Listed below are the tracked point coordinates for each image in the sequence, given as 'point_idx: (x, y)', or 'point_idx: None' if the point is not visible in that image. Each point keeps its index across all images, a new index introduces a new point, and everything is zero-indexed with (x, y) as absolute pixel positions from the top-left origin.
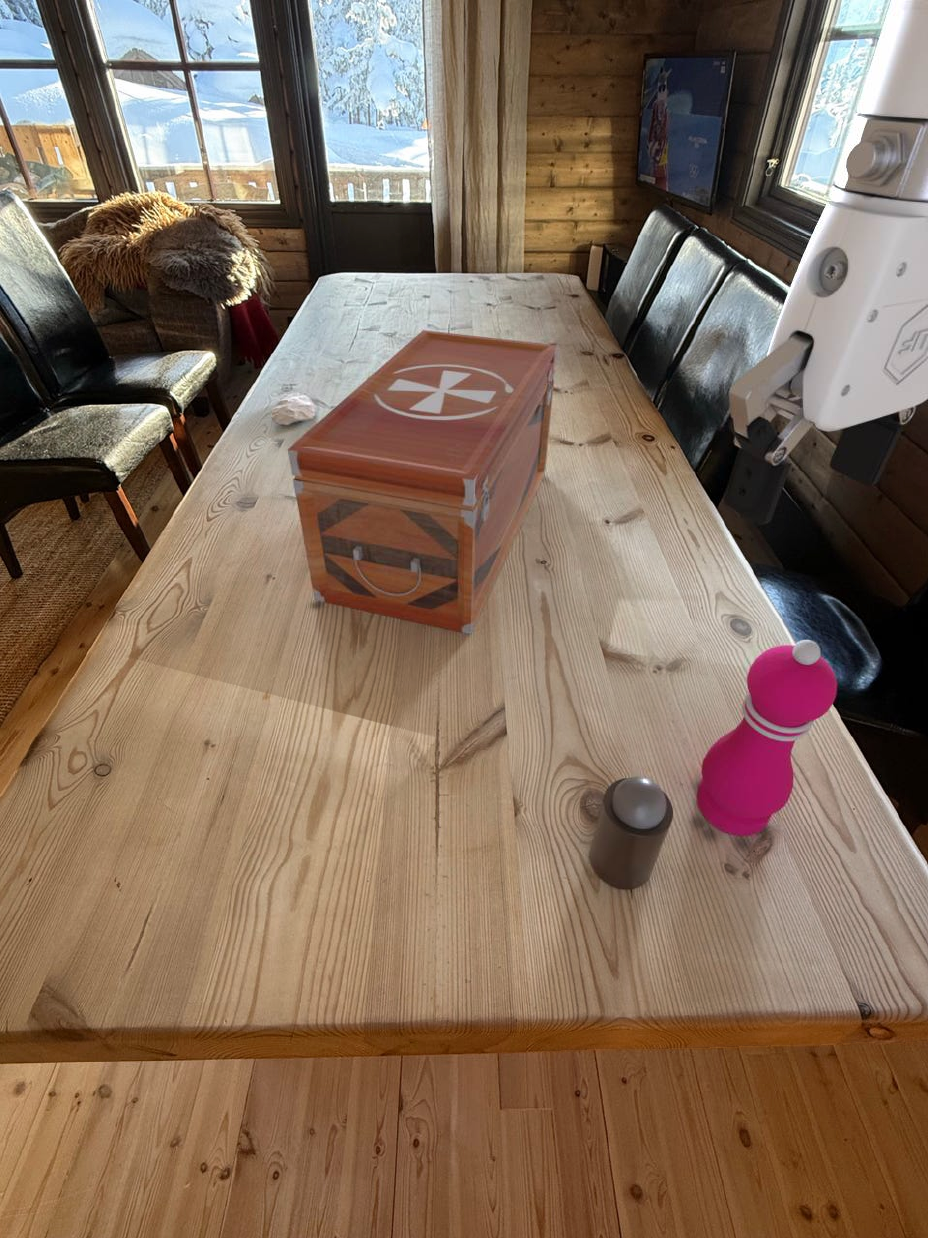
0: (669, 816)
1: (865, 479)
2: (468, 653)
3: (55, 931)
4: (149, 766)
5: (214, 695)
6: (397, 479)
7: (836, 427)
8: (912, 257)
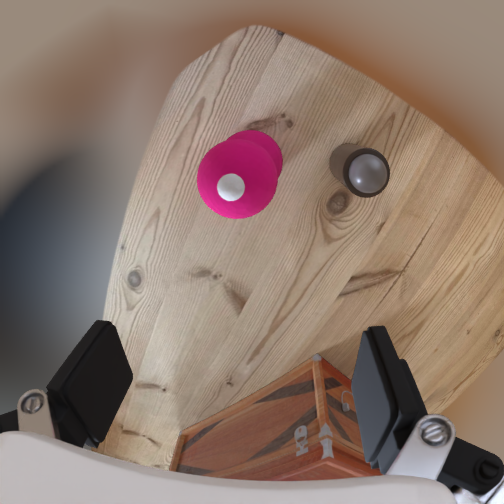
0: (353, 154)
1: (112, 333)
2: (328, 341)
3: None
4: (487, 328)
5: (450, 357)
6: (357, 462)
7: (406, 483)
8: None
